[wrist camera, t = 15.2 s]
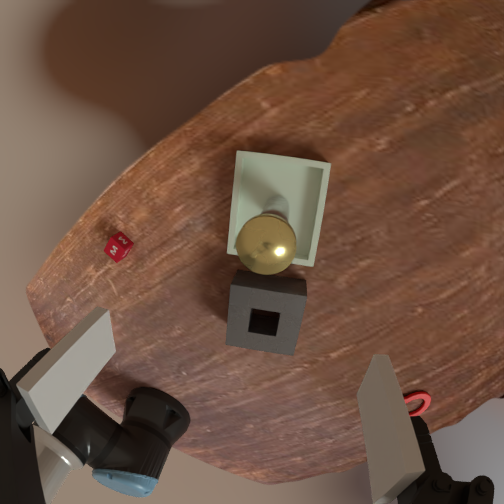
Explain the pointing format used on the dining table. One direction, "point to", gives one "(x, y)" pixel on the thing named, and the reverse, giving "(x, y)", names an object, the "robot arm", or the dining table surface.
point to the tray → (282, 184)
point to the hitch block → (270, 299)
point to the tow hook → (417, 395)
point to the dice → (118, 247)
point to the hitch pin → (268, 239)
